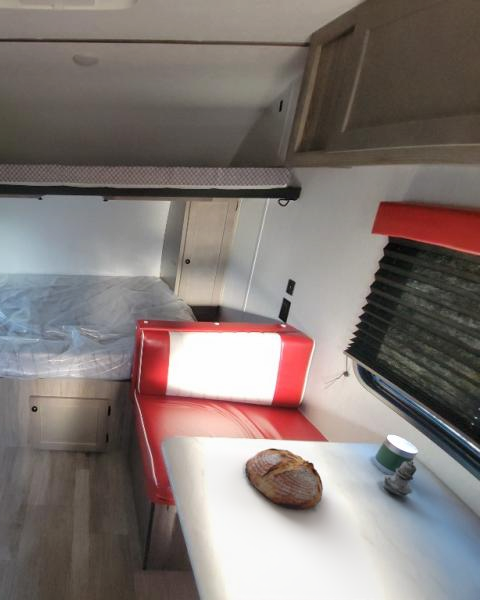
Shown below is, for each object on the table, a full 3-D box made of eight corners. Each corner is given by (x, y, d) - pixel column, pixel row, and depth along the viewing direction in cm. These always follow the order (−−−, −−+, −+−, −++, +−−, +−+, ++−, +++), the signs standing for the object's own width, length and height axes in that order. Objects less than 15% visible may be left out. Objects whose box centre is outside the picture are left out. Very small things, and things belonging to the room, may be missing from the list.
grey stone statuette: (387, 499, 91) (408, 467, 87) (374, 481, 97) (393, 450, 92) (411, 505, 91) (433, 473, 86) (396, 486, 96) (417, 455, 91)
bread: (333, 511, 87) (351, 486, 83) (268, 517, 83) (283, 492, 79) (288, 457, 102) (302, 433, 97) (231, 460, 98) (243, 436, 93)
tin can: (407, 477, 100) (424, 452, 96) (389, 479, 98) (406, 454, 94) (383, 458, 106) (398, 433, 102) (366, 459, 104) (380, 435, 101)
